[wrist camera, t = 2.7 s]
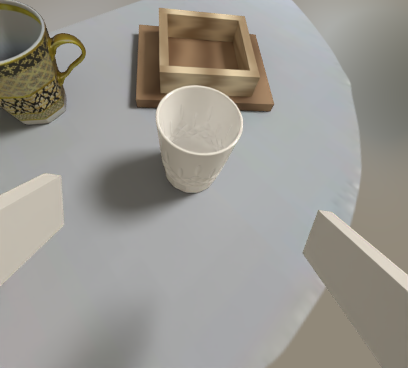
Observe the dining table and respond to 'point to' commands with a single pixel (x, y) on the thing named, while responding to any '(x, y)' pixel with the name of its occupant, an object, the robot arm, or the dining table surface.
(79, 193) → the dining table surface
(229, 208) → the dining table surface
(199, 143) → the white cup
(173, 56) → the tray
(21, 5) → the ceramic cup
